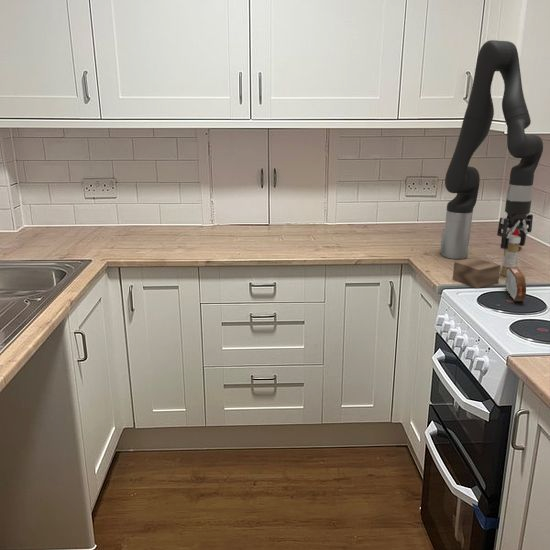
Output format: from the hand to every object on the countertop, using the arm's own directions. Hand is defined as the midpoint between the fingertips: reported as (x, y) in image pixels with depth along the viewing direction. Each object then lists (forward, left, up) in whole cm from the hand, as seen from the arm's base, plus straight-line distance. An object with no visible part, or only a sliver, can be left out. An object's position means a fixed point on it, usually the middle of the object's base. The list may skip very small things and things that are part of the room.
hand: (512, 247), depth 183 cm
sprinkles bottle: (0, 0, -10) cm, 10 cm away
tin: (+14, -16, -10) cm, 24 cm away
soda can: (-21, +30, -10) cm, 38 cm away
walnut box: (-1, -15, -10) cm, 18 cm away
